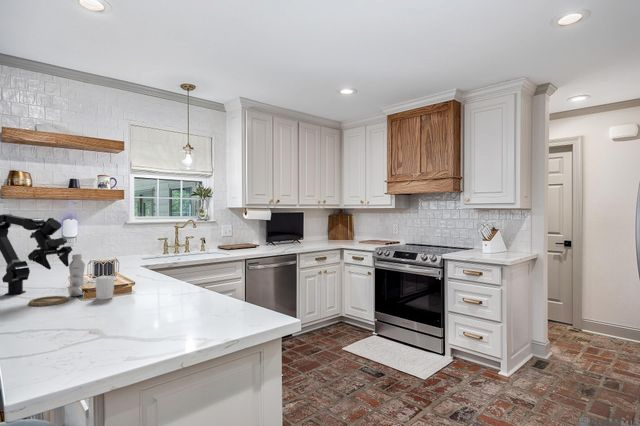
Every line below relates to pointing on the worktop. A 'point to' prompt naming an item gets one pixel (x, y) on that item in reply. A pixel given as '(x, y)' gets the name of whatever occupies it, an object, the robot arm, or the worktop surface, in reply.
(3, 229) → the robot arm
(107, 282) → the white cup
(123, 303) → the worktop surface
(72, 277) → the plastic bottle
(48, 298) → the brown round plate
